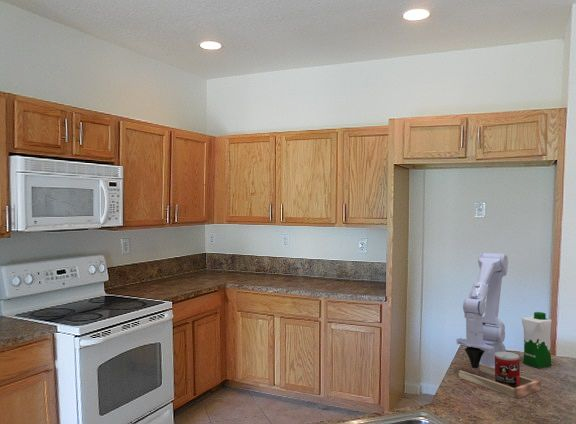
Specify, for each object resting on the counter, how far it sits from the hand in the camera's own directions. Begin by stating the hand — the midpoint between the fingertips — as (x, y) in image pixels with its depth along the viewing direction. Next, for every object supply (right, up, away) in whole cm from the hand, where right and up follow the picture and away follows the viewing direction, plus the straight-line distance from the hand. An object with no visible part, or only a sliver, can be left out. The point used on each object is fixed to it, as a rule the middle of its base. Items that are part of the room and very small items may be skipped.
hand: (475, 367), depth 168 cm
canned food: (+7, -3, -11) cm, 13 cm away
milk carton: (+29, -3, +11) cm, 31 cm away
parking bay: (+5, -3, -8) cm, 9 cm away
